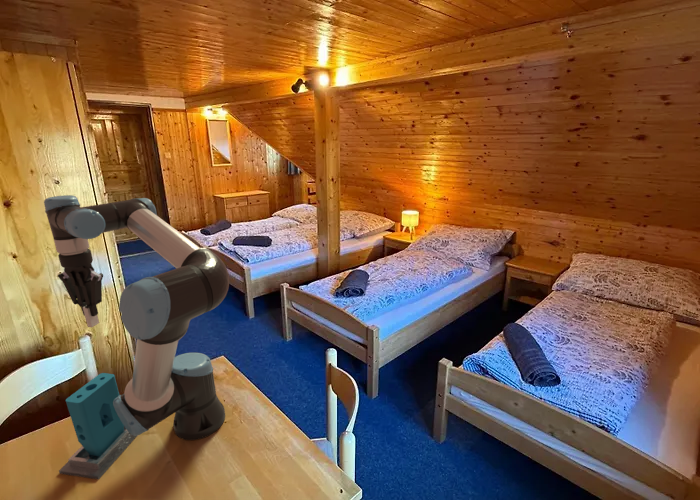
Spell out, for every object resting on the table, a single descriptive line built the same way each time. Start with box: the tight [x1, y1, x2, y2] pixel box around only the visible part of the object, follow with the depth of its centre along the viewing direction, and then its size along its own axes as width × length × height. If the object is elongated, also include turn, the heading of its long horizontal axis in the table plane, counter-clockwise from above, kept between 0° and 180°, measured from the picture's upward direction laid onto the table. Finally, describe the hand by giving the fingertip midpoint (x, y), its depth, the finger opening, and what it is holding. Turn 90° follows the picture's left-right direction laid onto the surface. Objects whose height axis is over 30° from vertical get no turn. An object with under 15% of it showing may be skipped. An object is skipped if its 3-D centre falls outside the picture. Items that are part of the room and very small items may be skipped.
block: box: [65, 372, 124, 457], centre depth 106 cm, size 12×5×20 cm, turn 168°
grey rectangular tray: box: [58, 426, 138, 480], centre depth 109 cm, size 12×20×3 cm, turn 171°
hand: (93, 324), depth 112 cm, fingers closed
